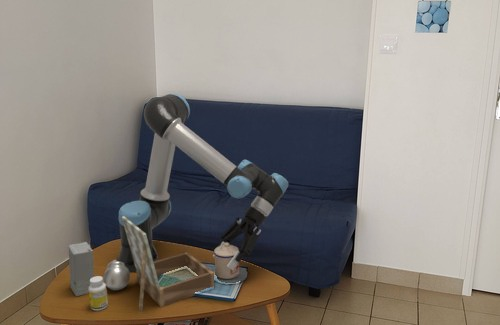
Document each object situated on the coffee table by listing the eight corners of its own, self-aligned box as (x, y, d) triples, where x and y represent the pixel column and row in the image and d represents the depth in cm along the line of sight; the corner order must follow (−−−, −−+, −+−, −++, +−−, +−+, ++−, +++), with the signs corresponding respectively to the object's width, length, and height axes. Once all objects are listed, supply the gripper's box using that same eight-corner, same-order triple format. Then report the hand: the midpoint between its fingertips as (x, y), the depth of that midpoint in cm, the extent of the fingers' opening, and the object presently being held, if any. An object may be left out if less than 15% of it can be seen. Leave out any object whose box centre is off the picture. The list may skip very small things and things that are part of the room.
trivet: (207, 274, 169) (207, 272, 169) (235, 265, 176) (235, 263, 175) (225, 288, 159) (225, 285, 159) (253, 278, 166) (253, 275, 166)
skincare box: (70, 287, 161) (65, 245, 157) (90, 281, 165) (86, 240, 161) (76, 297, 154) (71, 254, 150) (97, 291, 158) (93, 248, 154)
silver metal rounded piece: (134, 281, 165) (132, 255, 162) (127, 295, 156) (125, 267, 153) (109, 281, 165) (106, 255, 162) (100, 295, 156) (98, 268, 153)
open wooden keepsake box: (119, 289, 161) (113, 217, 154) (187, 268, 175) (184, 202, 169) (141, 315, 145) (135, 237, 138) (214, 290, 159) (212, 218, 153)
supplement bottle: (92, 302, 151) (89, 275, 149) (109, 301, 152) (107, 274, 149) (88, 311, 146) (85, 283, 144) (106, 310, 147) (103, 282, 144)
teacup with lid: (235, 281, 161) (234, 250, 158) (210, 277, 163) (209, 247, 161) (245, 265, 172) (245, 236, 169) (222, 262, 175) (221, 233, 172)
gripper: (282, 225, 163) (245, 279, 158) (247, 208, 180) (213, 257, 175) (270, 214, 158) (232, 270, 153) (236, 198, 176) (200, 247, 171)
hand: (222, 263), depth 164 cm, fingers closed on teacup with lid, 9 cm apart
